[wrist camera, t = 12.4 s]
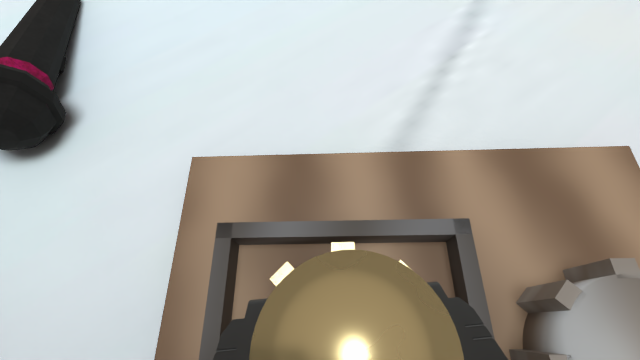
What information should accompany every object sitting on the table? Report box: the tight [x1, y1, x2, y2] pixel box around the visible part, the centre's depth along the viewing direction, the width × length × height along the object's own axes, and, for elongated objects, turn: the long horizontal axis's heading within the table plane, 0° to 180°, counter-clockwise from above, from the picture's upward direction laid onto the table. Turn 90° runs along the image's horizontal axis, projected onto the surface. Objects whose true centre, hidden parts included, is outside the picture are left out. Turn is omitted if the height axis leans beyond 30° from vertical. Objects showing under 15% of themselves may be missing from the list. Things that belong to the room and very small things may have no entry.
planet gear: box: [249, 242, 464, 360], centre depth 10 cm, size 8×8×8 cm
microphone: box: [0, 0, 80, 150], centre depth 24 cm, size 6×6×20 cm
